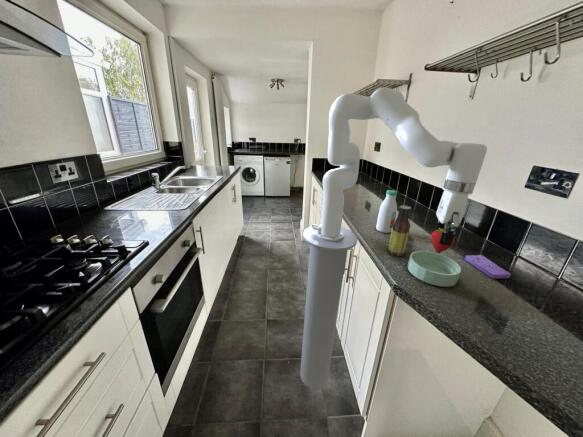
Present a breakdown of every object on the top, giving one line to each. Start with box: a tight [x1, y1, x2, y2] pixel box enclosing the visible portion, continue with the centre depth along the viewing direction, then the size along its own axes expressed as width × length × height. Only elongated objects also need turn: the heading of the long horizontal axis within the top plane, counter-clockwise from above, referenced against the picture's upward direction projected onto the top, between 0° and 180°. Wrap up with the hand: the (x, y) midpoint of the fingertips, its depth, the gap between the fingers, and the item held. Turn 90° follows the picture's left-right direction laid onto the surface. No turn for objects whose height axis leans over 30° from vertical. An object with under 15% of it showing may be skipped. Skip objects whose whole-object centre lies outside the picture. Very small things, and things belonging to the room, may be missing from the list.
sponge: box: [464, 254, 512, 279], centre depth 86 cm, size 7×13×2 cm, turn 4°
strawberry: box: [430, 228, 455, 254], centre depth 76 cm, size 6×8×10 cm
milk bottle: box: [375, 189, 398, 234], centre depth 111 cm, size 8×8×20 cm
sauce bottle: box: [388, 205, 412, 257], centre depth 90 cm, size 7×6×20 cm
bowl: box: [407, 250, 462, 288], centre depth 80 cm, size 15×15×5 cm
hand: (442, 238), depth 76 cm, fingers closed on strawberry, 7 cm apart
